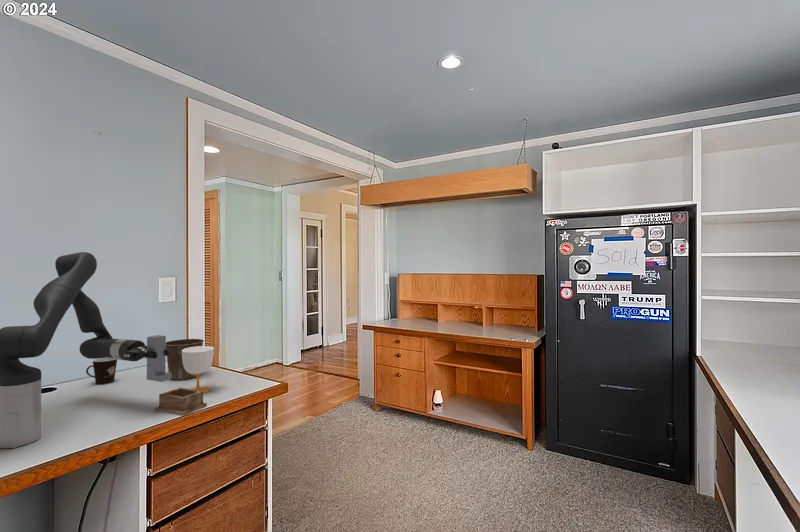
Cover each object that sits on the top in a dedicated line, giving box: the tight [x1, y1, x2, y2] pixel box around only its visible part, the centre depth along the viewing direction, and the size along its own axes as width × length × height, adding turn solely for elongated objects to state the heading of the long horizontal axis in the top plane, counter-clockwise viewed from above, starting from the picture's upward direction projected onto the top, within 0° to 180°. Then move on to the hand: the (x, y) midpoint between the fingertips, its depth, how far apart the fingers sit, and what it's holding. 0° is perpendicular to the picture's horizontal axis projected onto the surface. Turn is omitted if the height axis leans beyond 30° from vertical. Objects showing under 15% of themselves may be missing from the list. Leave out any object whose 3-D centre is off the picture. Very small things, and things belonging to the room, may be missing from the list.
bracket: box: [146, 334, 173, 382], centre depth 139 cm, size 4×7×15 cm, turn 70°
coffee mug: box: [85, 357, 118, 386], centre depth 170 cm, size 12×9×10 cm
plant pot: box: [166, 338, 205, 381], centre depth 181 cm, size 16×16×16 cm
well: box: [155, 387, 208, 416], centre depth 141 cm, size 10×13×6 cm
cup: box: [182, 345, 215, 394], centre depth 160 cm, size 12×12×17 cm
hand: (162, 353), depth 139 cm, fingers closed on bracket, 4 cm apart
